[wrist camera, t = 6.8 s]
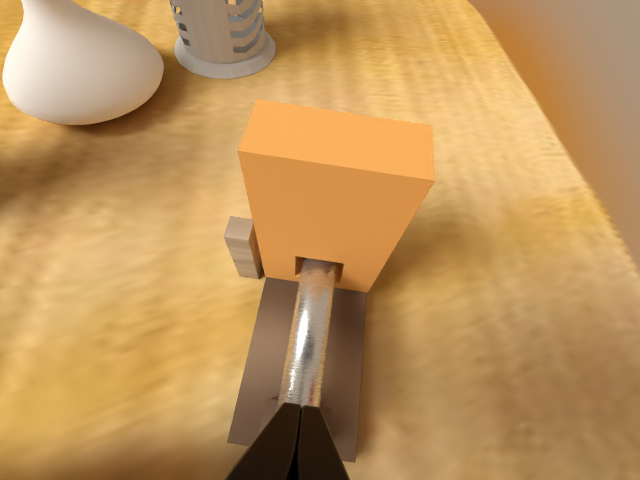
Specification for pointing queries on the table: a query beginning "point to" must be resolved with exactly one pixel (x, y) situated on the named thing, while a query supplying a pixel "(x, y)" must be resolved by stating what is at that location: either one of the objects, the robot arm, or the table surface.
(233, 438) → the pipe board
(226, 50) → the french press
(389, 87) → the table surface
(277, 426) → the robot arm
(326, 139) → the collar
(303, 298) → the steel pipe
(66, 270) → the table surface
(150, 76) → the flower in vase
